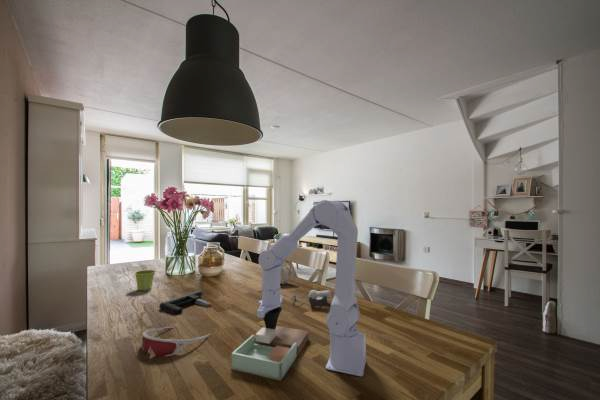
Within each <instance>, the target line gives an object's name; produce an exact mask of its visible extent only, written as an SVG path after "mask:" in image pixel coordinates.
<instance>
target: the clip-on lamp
mask: <svg viewBox="0 0 600 400" xmlns="http://www.w3.org/2000/svg"><path fill="white" fill-rule="evenodd" d="M307 296H308V297H307V299H306V298H304V297H302V296H300V295H296V293H293V295H291V300H292V302H293V303H296V301H297V300H296V298H299V299H301V300H304V301H308V300H309V304H310V308H311V310H314V309H315V307H321V306H326V305H328V304H329V303H330V300H328V299H330V298H331V297H332V292H331V291H330V290H329V289H328V290H319V291H318V290H316V289H311V290H309V293H308V295H307Z"/></svg>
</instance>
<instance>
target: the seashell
mask: <svg viewBox="0 0 600 400" xmlns="http://www.w3.org/2000/svg"><path fill="white" fill-rule="evenodd" d="M296 273H297V272H296V270H294V268H292V266H289V267H288V266H286V265H285V264H282V266H281V271H280V284H282V285H283V284H284V285H287V283H288V282H290V280H291V279H292V277H295V275H296Z"/></svg>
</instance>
